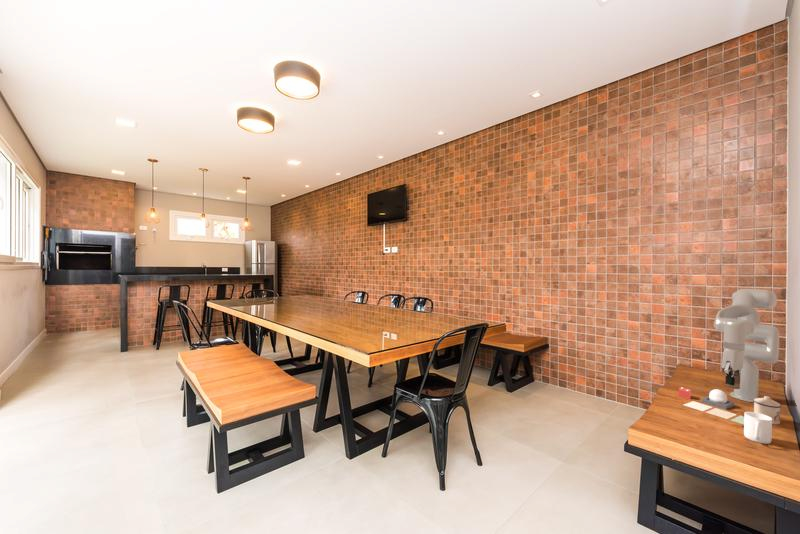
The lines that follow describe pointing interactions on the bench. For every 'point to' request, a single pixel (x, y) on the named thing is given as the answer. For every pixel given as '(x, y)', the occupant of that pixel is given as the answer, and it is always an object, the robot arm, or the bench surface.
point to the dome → (718, 396)
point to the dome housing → (723, 406)
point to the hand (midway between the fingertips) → (732, 383)
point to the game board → (715, 411)
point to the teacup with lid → (768, 408)
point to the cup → (758, 427)
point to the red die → (684, 392)
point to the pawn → (737, 381)
